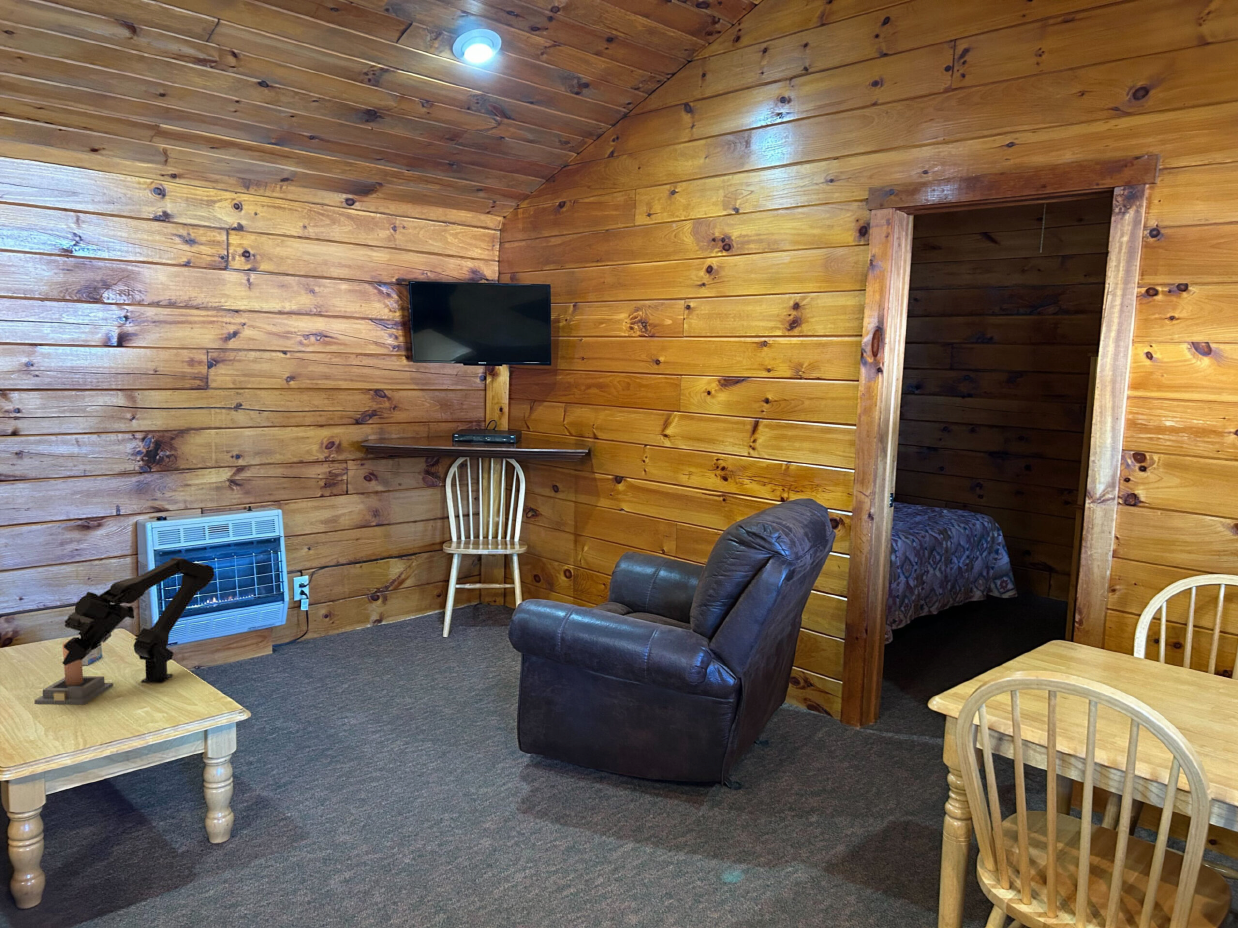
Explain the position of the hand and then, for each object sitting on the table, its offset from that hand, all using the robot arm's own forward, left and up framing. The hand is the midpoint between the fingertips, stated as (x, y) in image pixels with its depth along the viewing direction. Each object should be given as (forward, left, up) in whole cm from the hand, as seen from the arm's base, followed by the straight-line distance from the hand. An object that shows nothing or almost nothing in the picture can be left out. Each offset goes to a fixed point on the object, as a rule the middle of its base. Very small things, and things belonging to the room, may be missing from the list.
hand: (67, 661), depth 255 cm
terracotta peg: (0, +1, -7) cm, 7 cm away
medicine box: (-28, -12, -10) cm, 32 cm away
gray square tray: (0, +1, -10) cm, 10 cm away
